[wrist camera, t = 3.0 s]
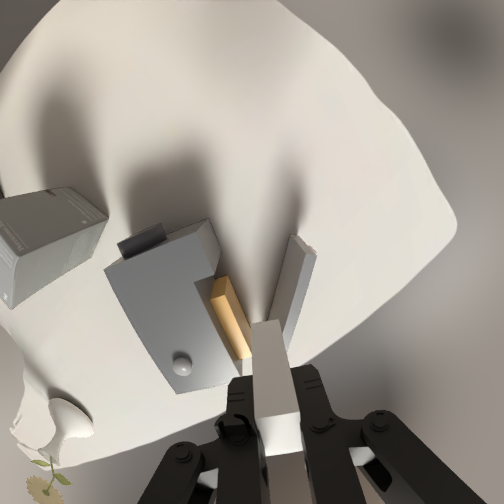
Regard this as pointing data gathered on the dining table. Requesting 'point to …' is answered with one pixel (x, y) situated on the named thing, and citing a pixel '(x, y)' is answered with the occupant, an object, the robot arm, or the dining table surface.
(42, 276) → the skincare box
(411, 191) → the dining table surface
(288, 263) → the door
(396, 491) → the robot arm
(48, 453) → the flower in vase
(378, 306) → the dining table surface
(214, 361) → the housing
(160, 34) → the dining table surface
